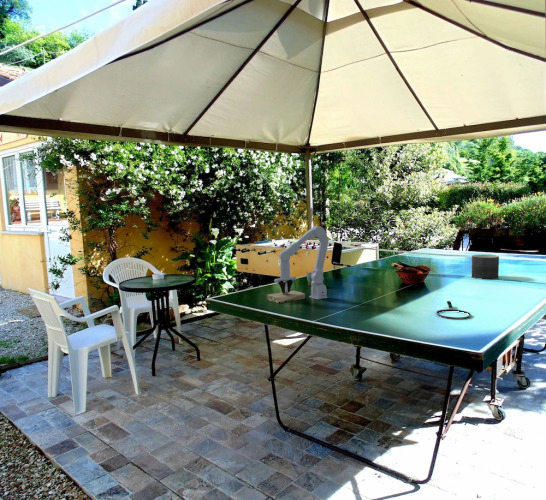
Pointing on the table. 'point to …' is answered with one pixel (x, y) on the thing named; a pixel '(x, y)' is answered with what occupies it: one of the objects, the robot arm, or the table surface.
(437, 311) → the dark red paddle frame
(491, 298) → the table surface
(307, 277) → the food container
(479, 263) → the planter
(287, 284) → the steel peg
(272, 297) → the hole block
